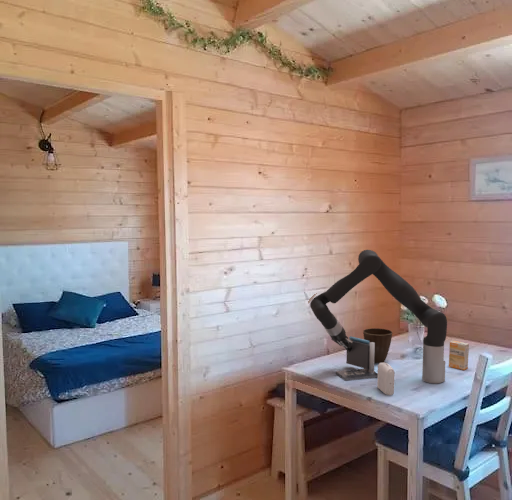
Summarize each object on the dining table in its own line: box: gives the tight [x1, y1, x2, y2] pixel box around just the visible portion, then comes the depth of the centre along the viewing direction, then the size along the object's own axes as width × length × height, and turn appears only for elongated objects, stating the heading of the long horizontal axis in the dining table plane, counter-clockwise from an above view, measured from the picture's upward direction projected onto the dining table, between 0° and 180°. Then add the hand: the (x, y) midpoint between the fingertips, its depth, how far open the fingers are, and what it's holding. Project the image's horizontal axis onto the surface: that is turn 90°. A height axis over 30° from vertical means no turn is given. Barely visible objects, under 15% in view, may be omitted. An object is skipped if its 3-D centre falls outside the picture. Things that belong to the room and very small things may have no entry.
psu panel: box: [335, 368, 378, 382], centre depth 246 cm, size 18×11×2 cm, turn 106°
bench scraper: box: [346, 336, 375, 371], centre depth 253 cm, size 15×4×14 cm, turn 40°
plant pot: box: [362, 327, 393, 364], centre depth 269 cm, size 15×15×16 cm
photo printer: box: [376, 362, 395, 396], centre depth 225 cm, size 10×4×12 cm, turn 11°
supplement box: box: [448, 340, 470, 371], centre depth 258 cm, size 8×5×13 cm, turn 45°
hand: (349, 350), depth 255 cm, fingers closed
